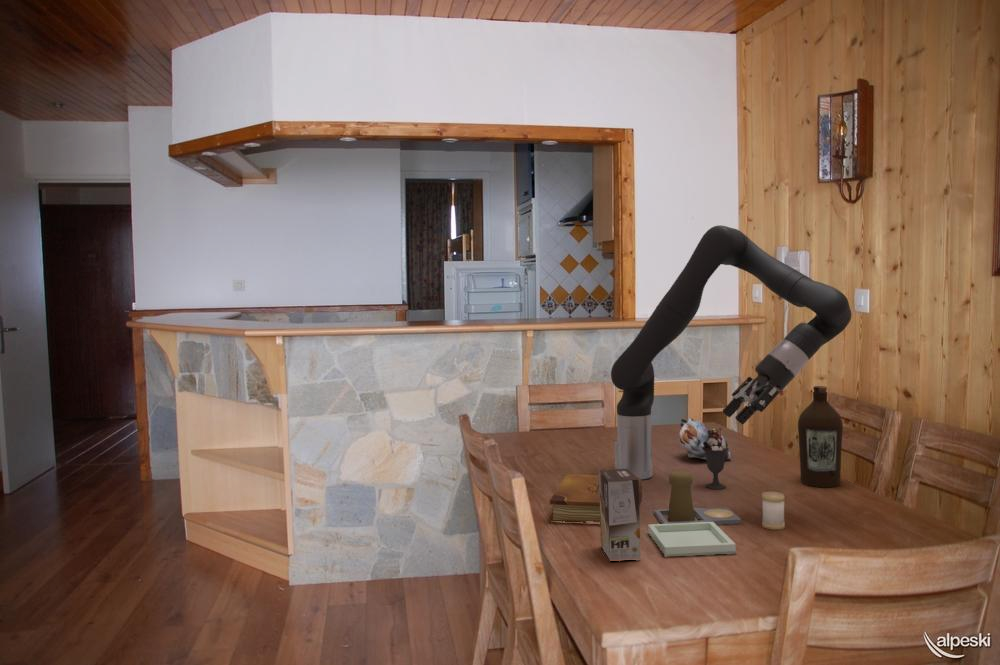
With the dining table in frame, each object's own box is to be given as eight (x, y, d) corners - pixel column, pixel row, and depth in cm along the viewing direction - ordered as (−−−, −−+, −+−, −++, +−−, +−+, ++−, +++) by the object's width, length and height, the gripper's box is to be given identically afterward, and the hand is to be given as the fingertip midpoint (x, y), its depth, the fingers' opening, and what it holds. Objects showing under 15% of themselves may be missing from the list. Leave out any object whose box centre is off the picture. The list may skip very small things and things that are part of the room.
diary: (634, 529, 170) (633, 504, 169) (550, 525, 175) (549, 500, 174) (641, 498, 192) (641, 476, 192) (567, 495, 197) (566, 473, 196)
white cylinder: (758, 526, 167) (757, 494, 167) (768, 521, 170) (768, 490, 170) (778, 531, 164) (777, 498, 163) (788, 526, 167) (788, 494, 167)
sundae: (731, 484, 201) (730, 427, 200) (727, 491, 195) (726, 432, 194) (705, 482, 204) (704, 425, 202) (700, 488, 198) (699, 430, 196)
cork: (695, 524, 170) (695, 475, 169) (667, 523, 171) (666, 475, 170) (694, 516, 176) (694, 468, 175) (667, 515, 177) (666, 468, 176)
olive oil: (796, 476, 206) (796, 383, 204) (840, 478, 203) (840, 384, 201) (799, 487, 196) (799, 389, 194) (845, 489, 193) (845, 390, 191)
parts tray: (648, 533, 165) (648, 524, 165) (713, 530, 166) (713, 521, 165) (665, 557, 151) (664, 547, 151) (735, 554, 152) (735, 544, 151)
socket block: (665, 528, 168) (664, 522, 168) (653, 514, 178) (653, 509, 178) (742, 524, 169) (741, 519, 169) (726, 510, 179) (726, 505, 179)
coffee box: (641, 560, 150) (640, 479, 149) (609, 562, 149) (607, 481, 148) (629, 544, 159) (628, 467, 158) (599, 546, 158) (597, 469, 157)
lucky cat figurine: (733, 463, 221) (713, 424, 218) (694, 477, 225) (673, 439, 222) (728, 438, 235) (709, 400, 232) (691, 452, 239) (672, 415, 236)
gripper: (757, 350, 179) (709, 401, 179) (783, 356, 164) (730, 412, 165) (780, 372, 179) (732, 423, 180) (807, 380, 165) (755, 435, 165)
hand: (731, 417), depth 172 cm, fingers open, 8 cm apart
